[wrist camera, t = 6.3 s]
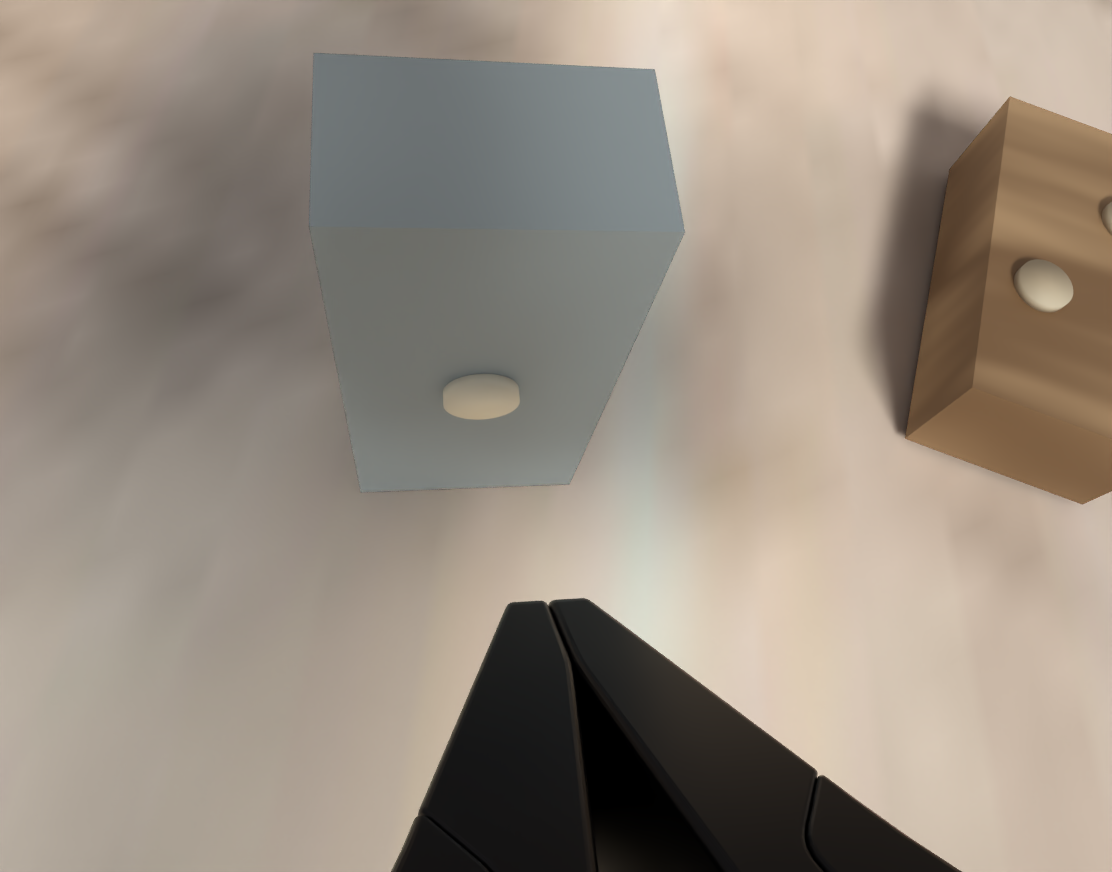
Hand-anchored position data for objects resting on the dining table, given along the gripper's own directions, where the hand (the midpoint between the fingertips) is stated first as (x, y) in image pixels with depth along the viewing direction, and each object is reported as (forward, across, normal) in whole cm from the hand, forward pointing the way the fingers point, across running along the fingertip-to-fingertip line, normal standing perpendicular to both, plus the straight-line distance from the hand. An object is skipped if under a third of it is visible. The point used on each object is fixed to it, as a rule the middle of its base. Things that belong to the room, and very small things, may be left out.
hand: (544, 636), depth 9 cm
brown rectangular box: (+10, -14, +2) cm, 17 cm away
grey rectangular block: (+12, 0, +2) cm, 12 cm away
